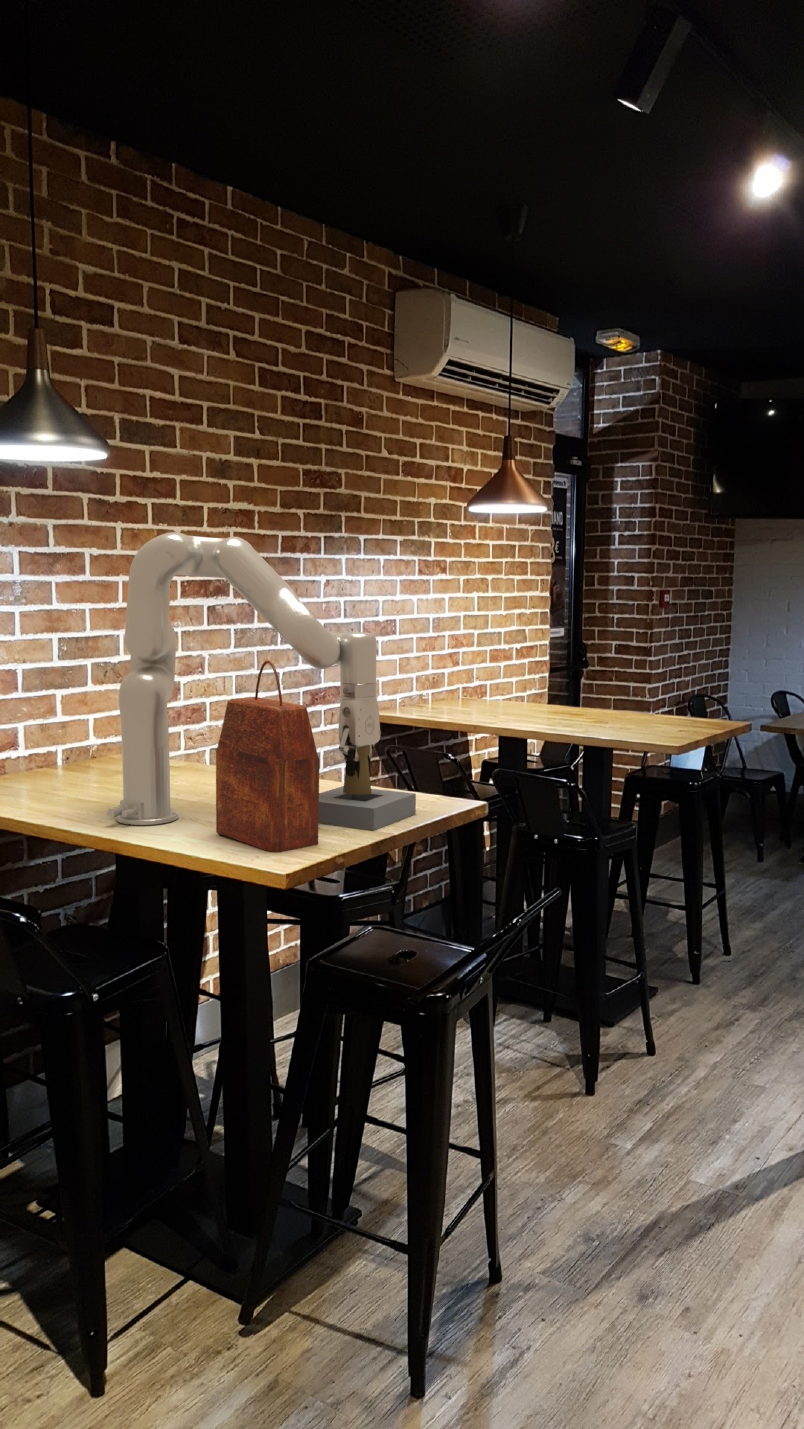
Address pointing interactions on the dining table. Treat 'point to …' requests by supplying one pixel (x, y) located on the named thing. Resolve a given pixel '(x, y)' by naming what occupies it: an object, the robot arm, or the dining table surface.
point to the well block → (365, 808)
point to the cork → (363, 783)
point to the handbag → (267, 774)
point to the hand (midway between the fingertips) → (358, 776)
